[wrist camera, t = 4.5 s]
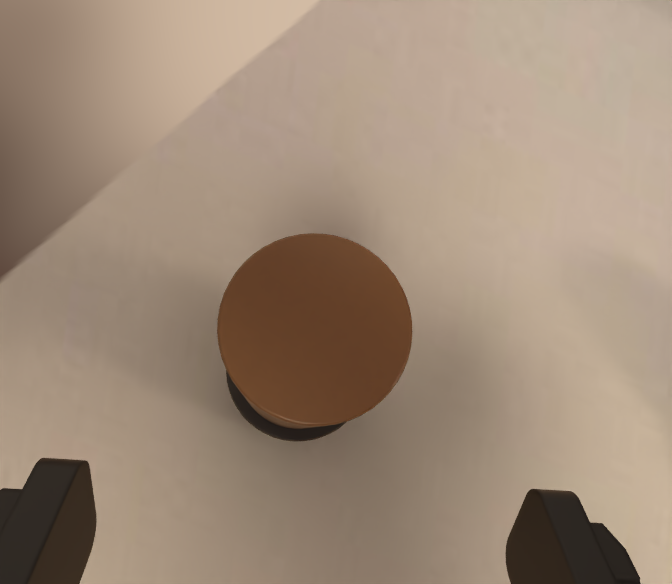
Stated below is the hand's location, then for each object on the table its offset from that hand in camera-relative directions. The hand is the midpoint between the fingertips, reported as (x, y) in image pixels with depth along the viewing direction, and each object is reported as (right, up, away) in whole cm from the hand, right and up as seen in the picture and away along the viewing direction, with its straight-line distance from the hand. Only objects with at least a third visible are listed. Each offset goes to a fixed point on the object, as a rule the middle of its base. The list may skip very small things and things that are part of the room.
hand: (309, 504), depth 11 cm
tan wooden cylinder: (-1, +1, +13) cm, 13 cm away
